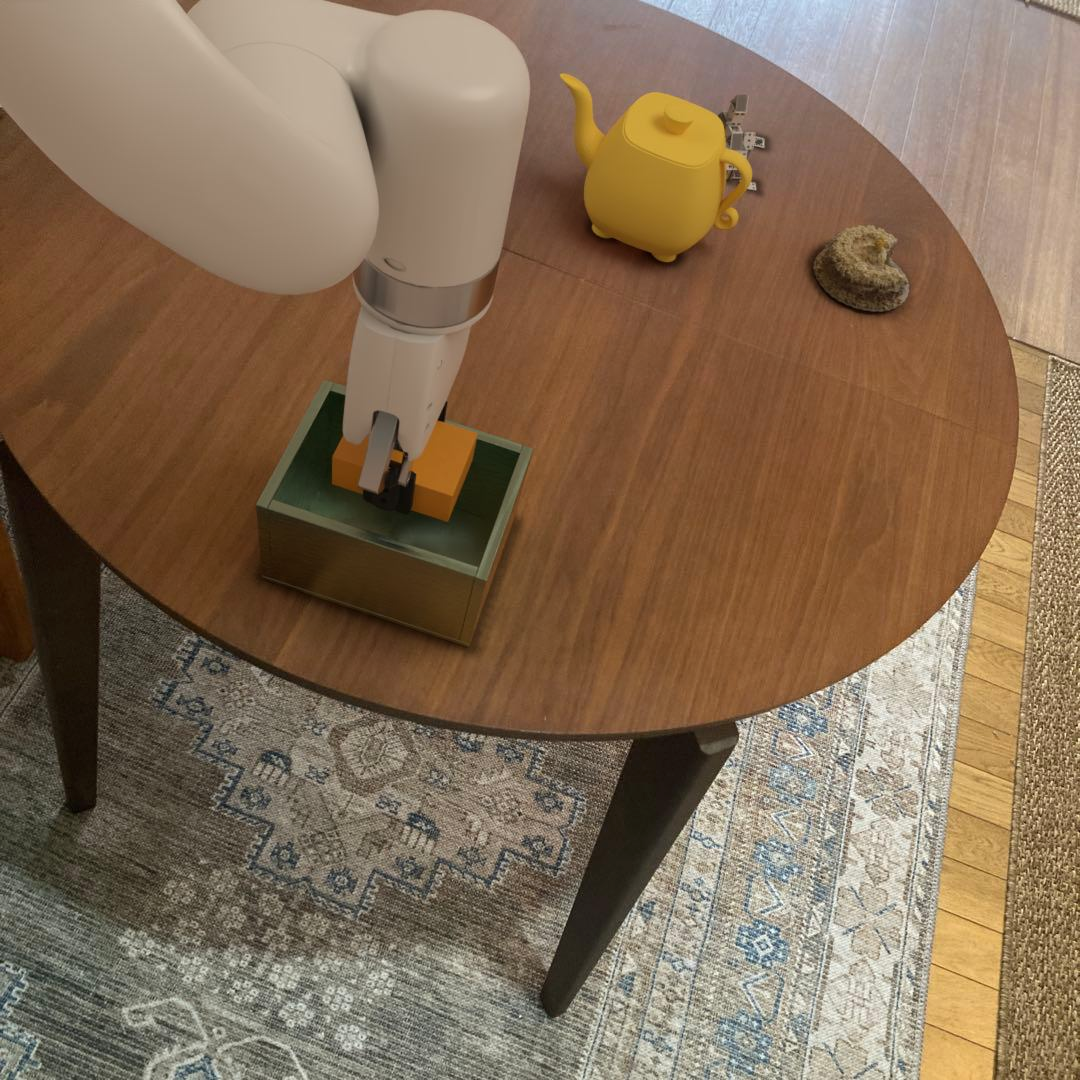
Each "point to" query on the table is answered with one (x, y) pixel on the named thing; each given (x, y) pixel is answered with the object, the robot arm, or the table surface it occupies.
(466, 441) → the block
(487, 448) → the bin
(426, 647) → the table surface
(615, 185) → the teapot
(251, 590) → the table surface
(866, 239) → the cake
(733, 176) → the house of cards
